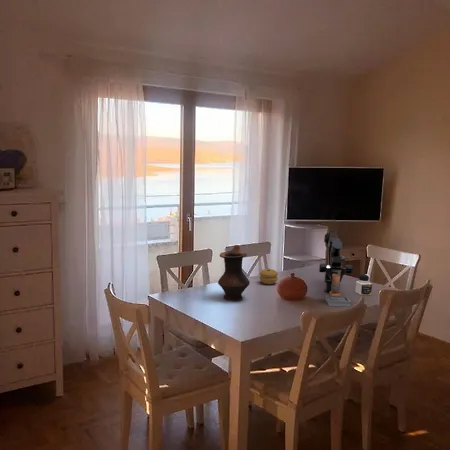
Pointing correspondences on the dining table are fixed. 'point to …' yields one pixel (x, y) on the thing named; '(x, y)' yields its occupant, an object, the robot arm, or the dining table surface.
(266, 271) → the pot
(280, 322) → the dining table surface
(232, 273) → the dark brown vase
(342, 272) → the robot arm
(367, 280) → the medicine bottle
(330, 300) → the notched board
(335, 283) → the wooden spool
